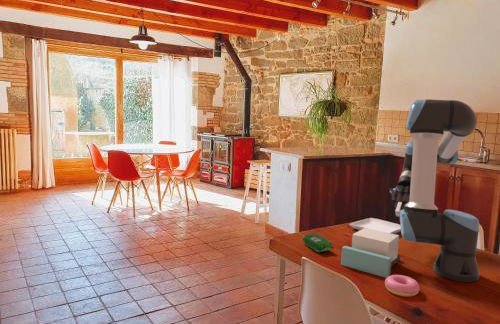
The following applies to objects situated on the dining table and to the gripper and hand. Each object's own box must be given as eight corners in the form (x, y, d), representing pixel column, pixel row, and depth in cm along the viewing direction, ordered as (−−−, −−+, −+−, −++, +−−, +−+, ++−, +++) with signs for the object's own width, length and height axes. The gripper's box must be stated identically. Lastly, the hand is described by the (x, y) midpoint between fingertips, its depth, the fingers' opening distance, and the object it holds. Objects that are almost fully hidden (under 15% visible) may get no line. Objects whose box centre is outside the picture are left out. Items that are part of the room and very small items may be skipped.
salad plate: (369, 222, 212) (370, 216, 212) (407, 232, 197) (408, 225, 196) (347, 229, 198) (348, 223, 197) (386, 240, 183) (387, 233, 182)
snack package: (319, 256, 159) (320, 244, 158) (300, 243, 173) (301, 232, 173) (334, 254, 162) (335, 242, 161) (314, 242, 176) (315, 231, 175)
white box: (397, 257, 153) (399, 235, 152) (386, 266, 144) (388, 242, 143) (362, 248, 162) (364, 227, 161) (351, 256, 152) (352, 234, 151)
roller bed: (400, 260, 157) (400, 254, 157) (385, 273, 144) (386, 267, 143) (366, 251, 166) (366, 246, 165) (349, 263, 152) (350, 257, 152)
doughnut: (407, 302, 122) (408, 289, 122) (377, 288, 131) (378, 276, 131) (425, 293, 129) (426, 281, 128) (396, 281, 138) (397, 269, 137)
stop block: (389, 276, 141) (391, 257, 140) (387, 278, 139) (389, 259, 138) (343, 262, 152) (344, 245, 151) (340, 264, 150) (342, 247, 149)
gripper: (422, 189, 180) (414, 222, 164) (393, 187, 187) (382, 218, 170) (422, 176, 177) (413, 208, 160) (392, 174, 184) (380, 205, 167)
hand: (397, 213), depth 165 cm, fingers closed
